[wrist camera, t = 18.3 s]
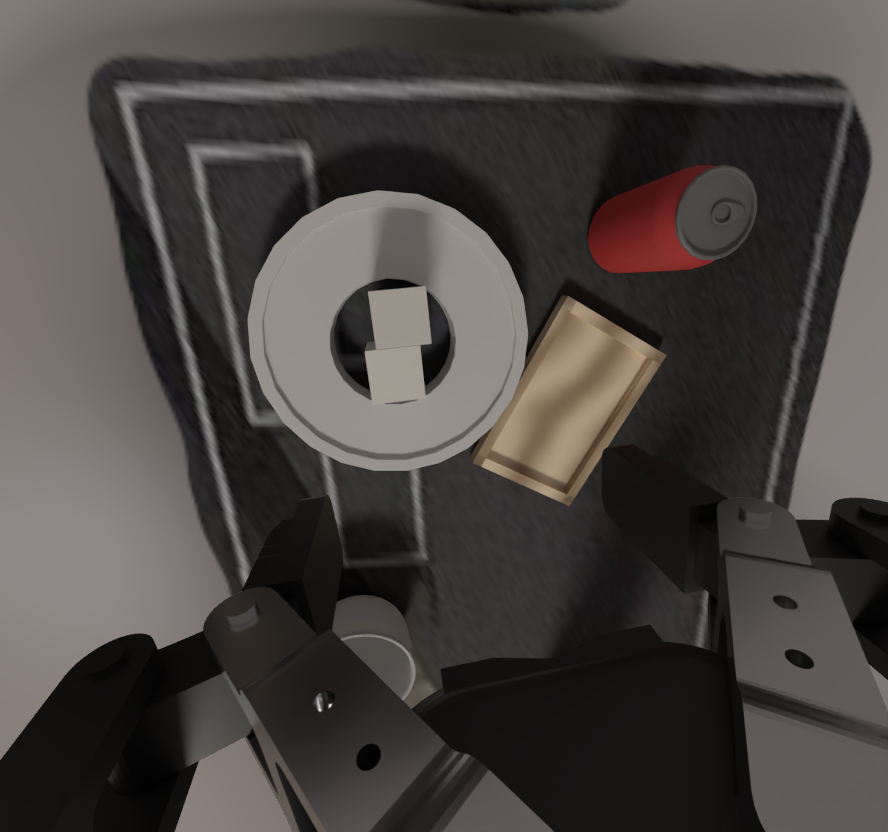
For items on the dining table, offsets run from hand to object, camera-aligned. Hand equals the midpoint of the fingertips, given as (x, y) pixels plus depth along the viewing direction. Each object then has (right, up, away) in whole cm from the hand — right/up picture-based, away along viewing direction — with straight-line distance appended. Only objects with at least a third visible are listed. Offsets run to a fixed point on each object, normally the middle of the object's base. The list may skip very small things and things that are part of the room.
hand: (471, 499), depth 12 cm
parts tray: (+11, +3, +30) cm, 32 cm away
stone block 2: (-5, +7, +23) cm, 25 cm away
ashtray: (-6, +10, +27) cm, 29 cm away
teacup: (-10, -22, +36) cm, 43 cm away
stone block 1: (-5, +11, +22) cm, 25 cm away
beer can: (+15, +19, +26) cm, 36 cm away
